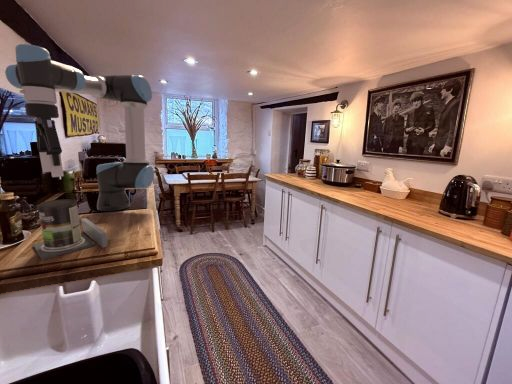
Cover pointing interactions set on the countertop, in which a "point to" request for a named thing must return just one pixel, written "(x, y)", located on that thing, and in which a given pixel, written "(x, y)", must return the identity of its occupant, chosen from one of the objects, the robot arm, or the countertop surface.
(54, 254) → the mat
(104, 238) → the low wall
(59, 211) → the coffee can
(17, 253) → the countertop surface
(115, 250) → the countertop surface
